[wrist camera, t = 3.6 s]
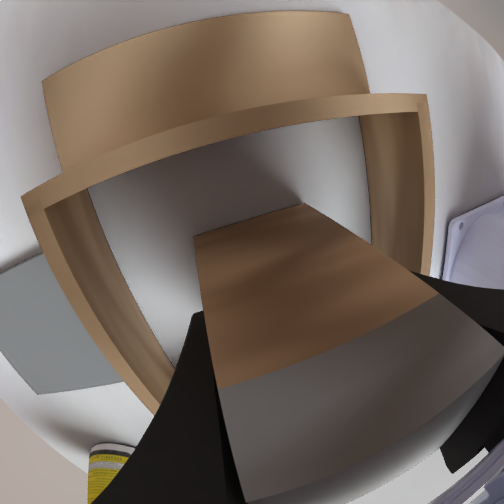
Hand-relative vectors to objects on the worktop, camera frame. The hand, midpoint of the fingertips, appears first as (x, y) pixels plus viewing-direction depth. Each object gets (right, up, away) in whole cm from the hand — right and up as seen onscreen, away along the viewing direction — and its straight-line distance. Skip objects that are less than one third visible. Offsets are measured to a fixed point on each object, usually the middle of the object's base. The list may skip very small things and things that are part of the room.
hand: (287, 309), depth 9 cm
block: (-1, +1, +3) cm, 3 cm away
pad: (-12, -2, +1) cm, 12 cm away
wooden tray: (-1, +1, +3) cm, 3 cm away
